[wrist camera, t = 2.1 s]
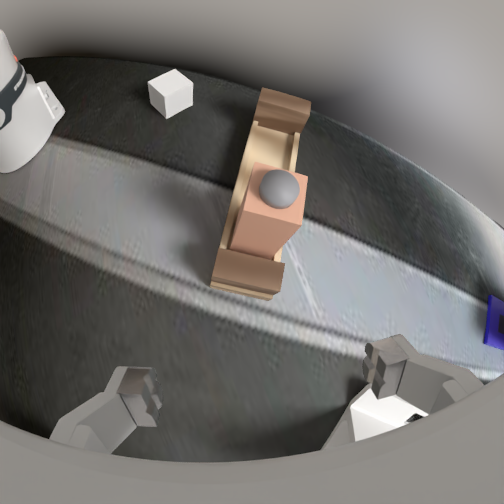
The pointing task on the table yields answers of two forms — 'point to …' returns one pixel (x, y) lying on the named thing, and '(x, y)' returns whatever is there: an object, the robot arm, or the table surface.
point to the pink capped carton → (269, 211)
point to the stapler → (495, 323)
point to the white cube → (171, 93)
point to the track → (257, 150)
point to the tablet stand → (370, 417)
